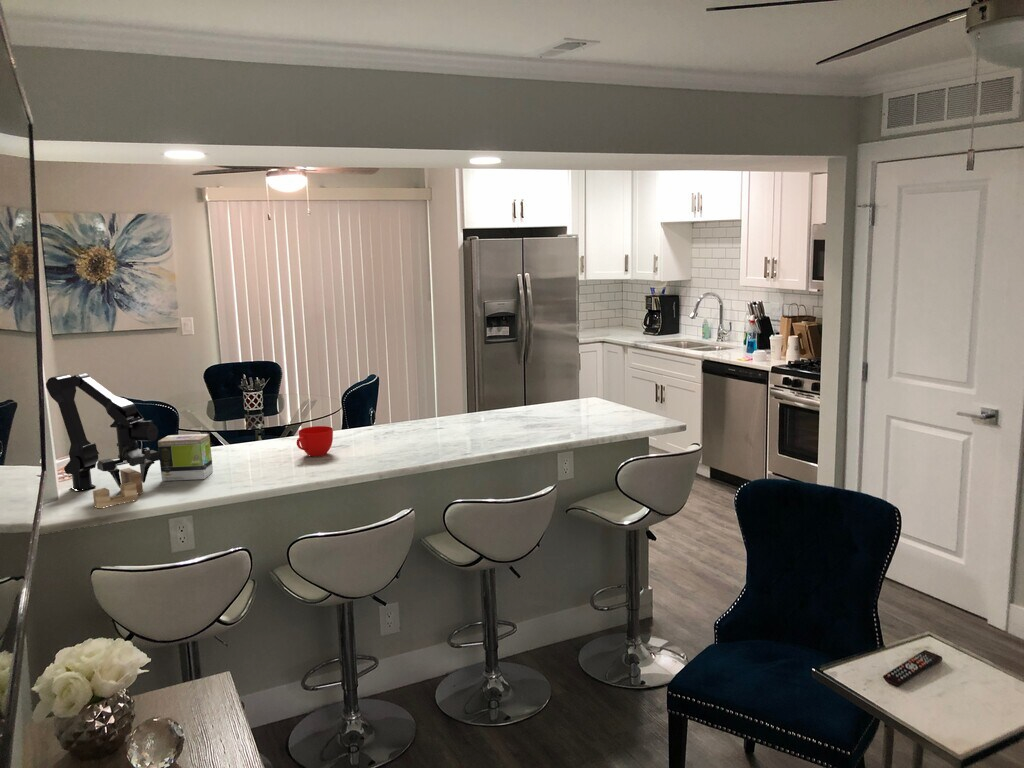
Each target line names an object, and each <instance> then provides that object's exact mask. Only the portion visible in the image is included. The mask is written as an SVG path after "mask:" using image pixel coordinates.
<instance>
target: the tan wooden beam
mask: <svg viewBox="0 0 1024 768" xmlns="http://www.w3.org/2000/svg"><path fill="white" fill-rule="evenodd" d="M119 470H120V471H119V474H120V480H121V484H124V483H129V482H133V483H135V484H136V489H137V493H141V494H143V493H144V488H143V487H144V486H143V482H142V477H141V471H137V470H136V469H133V468H130V467H127V468H122V469H119ZM142 492H143V493H142Z"/></svg>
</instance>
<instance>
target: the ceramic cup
mask: <svg viewBox="0 0 1024 768" xmlns="http://www.w3.org/2000/svg"><path fill="white" fill-rule="evenodd" d="M333 440H334V428H333V427H331V426H328V425H327V426H325V425H323V426H322V425H317V426H309V427H307V426H306V427H304V428H301V429H299V430H298V438H297V439H296V446H297V448H298V449H299V450H301V451H304V452H305V453H306V454H307V455H308V456H309V455H310V456H320V457H323V456H322V455H324V456H326V455H327V454H328V452H329V451H330V449H331V448H332V445H333ZM325 454H326V455H325ZM310 456H309V457H310Z"/></svg>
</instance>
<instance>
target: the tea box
mask: <svg viewBox="0 0 1024 768" xmlns="http://www.w3.org/2000/svg"><path fill="white" fill-rule="evenodd" d="M157 447H158V452H159V454H160V458H161V460H159V466H160V474H161V475H160V476H161V481H162V482H168V481H171V482H172V481H189V480H191V481H193V480H205V479H207V478H208V477H209V476H210V475H212V474H213V473H212V472H214V471H213V470H214V469H213V468H214V467H213V460H212V459H213V458H212V449H211V437H210V433H195V434H194V433H192V434H191V433H190V434H188V433H187V434H170V435H167V436H165V437H163V438H161V439H159V440H158V441H157ZM207 476H208V477H207ZM206 477H207V478H206Z"/></svg>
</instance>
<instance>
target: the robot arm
mask: <svg viewBox="0 0 1024 768" xmlns="http://www.w3.org/2000/svg"><path fill="white" fill-rule="evenodd" d="M45 388H46V389H47V392H48V393H49V396H50V397H51V399H53V400H54V401H55V402H56V403H57V404H58V408H59V411H60V414H61V418H62V421H63V423H64V427H65V429H66V434H67V435H68V440H69V441H70V447H69V452H68V457H69V461H68V462H67V464H66V465H65V466H64V468H63V471H64V473H65V474H66V475H71V478H72V479H71V481H72V486H73V488H74V489H77V490H82V489H87V488H91V489H93V488H92V487H97V486H96V485H95V484H93V482H92V473H91V470H92V469H95V468H96V467H97V470H99V471H101V472H108V473H109V474H110V475H111V477H112V478H113V479H114V482H115V483H116V485H117V487H118V488H119V489H120V484H122V482H121V474H120V470H121V469H119V468H118V466H123V465H126V464H127V465H128V464H129V466H130V467H136V466H138V465H139V469H140V473H141V477H142V484H144V483H145V482H146V479H147V475H148V472H149V469H150V467H151V466H152V465H154V464H155V462H157V461H160V460H161V458H160V454H159V451H156V450H154V449H151V450H150V448H149V447H145V448H140V445H139V441H140V442H154V441H156V440H157V438H158V436H159V428H158V427H157V425H156V424H154V421H153V420H145V418H144V417H143V415H142V413H140V411H139V410H138V409H137V406H136V404H135V403H133V402H132V401H130V400H128V399H126V398H123V397H120V396H117V395H115V394H113V393H112V392H111V391H110V390H108V389H107V388H105V387H104V386H103V385H102V384H100V383H99V382H97V381H96V380H95V379H93V378H92V377H91V375H90V374H88V373H79V374H74V375H72V376H71V375H70V374H66V373H65V374H61V375H57V376H52V377H49V378H48V379H47V381H46V382H45ZM77 388H78V389H80V390H82V391H83V392H84V393H85V394H87V395H88V396H89V397H90V398H92V399H93V400H94V401H96V402H97V403H99V404H100V405H101V406H102V407H104V409H105V411H106V413H107V415H109V417H110V419H112V420H113V422H112V423H111V424H110V426H109V428H115V430H116V439H117V443H116V447H117V448H118V455H117V457H118V459H115V460H114V459H112V458H104V459H100V460H99V455H100V452H99V451H98V448H97V444H96V442H93V443H91V442H90V441H89V440H88V439H87V435H86V432H85V429H84V427H83V423H82V419H81V417H80V414H79V411H78V408H77V404H76V401H75V400H76V399H75V398H76V394H77ZM87 490H88V489H87ZM82 491H83V490H82Z"/></svg>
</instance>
